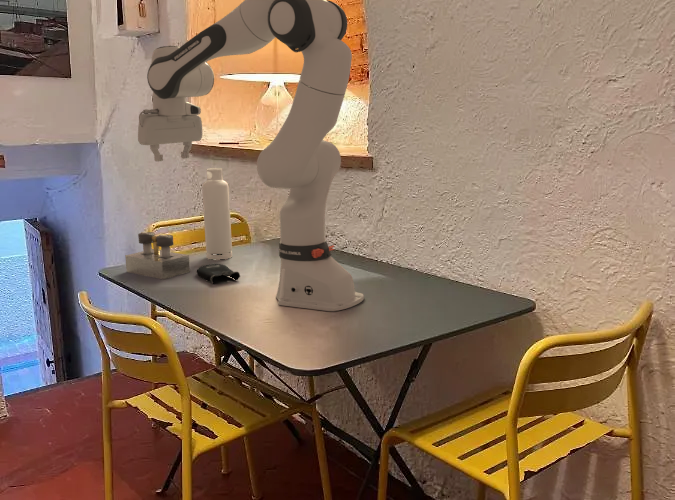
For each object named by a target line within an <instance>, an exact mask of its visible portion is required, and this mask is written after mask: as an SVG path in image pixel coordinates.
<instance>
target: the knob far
mask: <svg viewBox="0 0 675 500" xmlns="http://www.w3.org/2000/svg"><path fill="white" fill-rule="evenodd" d="M152 236H156V235H155V233H154V232H152V231H148V232H147V231H141V232H140V233H137V237H138V238H137V239H138V243H139V244H142V249H143V250H142V251H144V255H151V254H152V249H153V248H152V245H153V240H152Z"/></svg>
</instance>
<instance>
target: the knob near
mask: <svg viewBox="0 0 675 500" xmlns="http://www.w3.org/2000/svg"><path fill="white" fill-rule="evenodd" d="M156 236H157V237H156V238H157V246H159V248H160V249H161V252H162V258H164V259H167V258H171V257H170V252H171V247H172V246H174V244H175V243H174V236H173V234H158V235H156Z"/></svg>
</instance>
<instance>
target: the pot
mask: <svg viewBox="0 0 675 500" xmlns="http://www.w3.org/2000/svg"><path fill="white" fill-rule="evenodd" d="M157 236H158V235H155V236H152V240H153V243H152V245H153V249H154V255H160V251H159V250H160V247H159V246H157V238H156V237H157Z"/></svg>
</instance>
